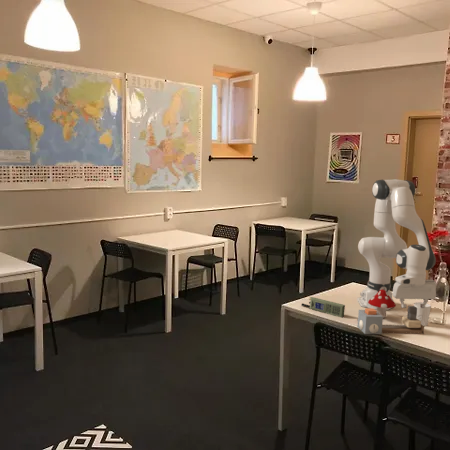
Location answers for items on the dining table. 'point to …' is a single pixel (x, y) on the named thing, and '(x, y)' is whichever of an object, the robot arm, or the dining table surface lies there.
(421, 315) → the white cup
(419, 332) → the rail
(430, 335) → the dining table surface
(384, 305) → the decorative mushroom
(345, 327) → the dining table surface
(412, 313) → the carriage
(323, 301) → the handheld radio
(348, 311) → the dining table surface
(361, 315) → the gauge cabinet
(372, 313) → the button
